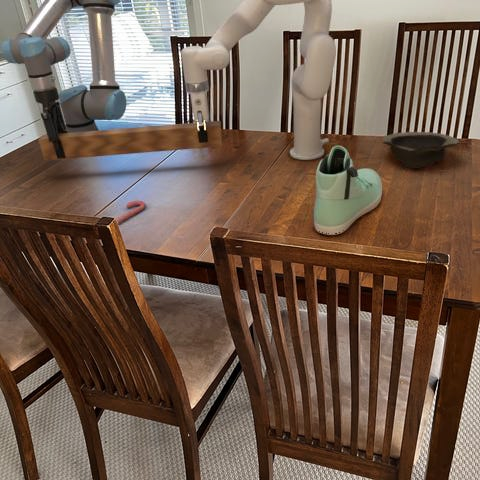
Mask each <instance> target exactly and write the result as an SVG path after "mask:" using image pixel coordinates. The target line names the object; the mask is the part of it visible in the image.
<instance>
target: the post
mask: <svg viewBox="0 0 480 480" xmlns="http://www.w3.org/2000/svg"><path fill="white" fill-rule="evenodd" d="M203 125H204V124H203ZM205 125H206V130H207V135H208V142H203V143H199V139H198V127H197V123H195V122H188V123H186V124H184V123H175V124H163V125H148V126H149V127H147V126H139V127H125V128H112V129H101V130H100V129H99V131H87V132H74V133H62V134H58V135H59V140H61V142H62V146H63V149H64V153H65V157H66V158H63V159H62V160H69V159H83V158H94V157H106V156H108V157H109V156H119V155H132V154H143V153H144V154H146V153H156V152H157V153H158V152H169V151H171V152H172V151H182V150H195V149H206V148H219V147H223V135H222V134H223V133H222V123H221V120H214V121H211V120H210V121H209V122H205ZM37 141H38V144H39V147H40V151H41V154H42V157H43V160H44V162H45V161H57V160H59V159H57V156H56V152H55V149H54V145H53V142H49V138H48V135H47V134H42V135H41V136H40V137H39V138H38V140H37Z"/></svg>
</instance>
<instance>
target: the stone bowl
mask: <svg viewBox="0 0 480 480" xmlns="http://www.w3.org/2000/svg"><path fill="white" fill-rule="evenodd" d="M381 142H382V144H384V145H386V146H390V151H391V154H392V155H393V156H394V157H395V159H397V160H399V161H401V163H402V164H401V165H402V167H404V168H411V169H420V168H429V167H432V166H433V165H434V163H435V162H436V163H439V162H443V161H444V159H445V157H446V149H448V148H452V147H455V146H456V145H458V144H460V143H461V141H460V140H459V139H457V138H455V137H453V136H451V135H447V134H444V133H440V132H430V131H405V132H395V133H390V134H387V135H384V136H382V138H381Z"/></svg>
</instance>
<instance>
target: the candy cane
mask: <svg viewBox="0 0 480 480" xmlns="http://www.w3.org/2000/svg"><path fill="white" fill-rule="evenodd" d="M135 206H137V207H135ZM132 207H135V208H134V209H132V210H130V211H128V212H126V213H125V214H122V215H121V216H120V217H118V218H116V219H115V220H117V222H118V224H117V225H119V224H121V223H122V222H124V221H125V220H127V219H129V218H131V217H132V216H134V215H136V214H137V213H139V212H141V211H143V210H145V208H146V203H145V201H143V200H132V201H129V202H128V203H127V204H126V208H127V209H130V208H132Z"/></svg>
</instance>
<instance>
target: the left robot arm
mask: <svg viewBox="0 0 480 480" xmlns="http://www.w3.org/2000/svg"><path fill="white" fill-rule="evenodd" d="M119 3H120V0H44V1H43V2H42V3H41V5H40V6H39V7H38V9H37V10H36V11H35V12H34V14H32V16H31V17H30V19H29V20H28V21H27V23H26V24H25V25H24V27H23V28H22V29H21V30H20V32H19V33H18V34H17V35H16V37H15V38H14V39H9V40H5V41H3V42H2V44H1V47H0V48H1V49H0V51H1V54H2V56H3V58H4V60H5V61H6V62H7V63H9V64H15V65H16V64H17V65H23V64H24V67H25V69H26V72H27V76H28V81H29V85H30V87H31V90H33V92H32V93H33V97H34V101H35V102H36V103H37V104H41V106H42V112H41V113H40V117H41V119H42V121H43V125H44V128H45V131H46V135H48V138H49V142H53V145H54V149H55V152H56V156H57V159H58V160H64V159H63V158H66V157H65V153H64V149H63V146H62V142H61V140H59V135H58V134H62V133H74V132H87V131H99V130H100V129H99V127H98V125H97V124H96V121H117V120H120V119H122V118H123V117H124V115H125V112H126V109H127V96H126V93H125V92H124V91H123V90H121V89H120V86H121V85H120V84H119V83H118V82H117V81H116V67H115V54H114V38H113V24H112V16H113V14H114V13H115V12H116V9H115V6H117V5H118V4H119ZM78 7H82V8H83V9H82V10H83V11H84V13H86V14H87V20H88V34H89V35H88V36H89V46H90V59H91V74H92V82H91V83H89V89H88V87H87V85H85V84H83V85H81V84H80V85H76V86H72V87H69V88H66V89H63V90H61V91H60V92H59V90H58V88H57V87H56V85H57V84H56V81H55V80H56V77H55V76H54V73H53V70H52V66H54V65H55V64H58V63H61V62H64V61H65V60H67V59H68V58H69V57H70V55H71V49H72V48H71V46H70V44H69V42H68V41H67V40H66V38H64V37H61V36H52V37H51V38H48V37H49V36H50V35H51V33H52V32H53V30H54V29H55V28H56V26H57V24H58V23H59V22H60V21H61V19H62V18H63V17H64V15H66V14H69V13H70V12H71V11H72V9H74V8H78ZM191 122H192V123H195V120H194V119H187V121H185V122H184V123H183V124H186V123H191ZM149 126H150V125H147V126H146V127H149Z"/></svg>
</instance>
